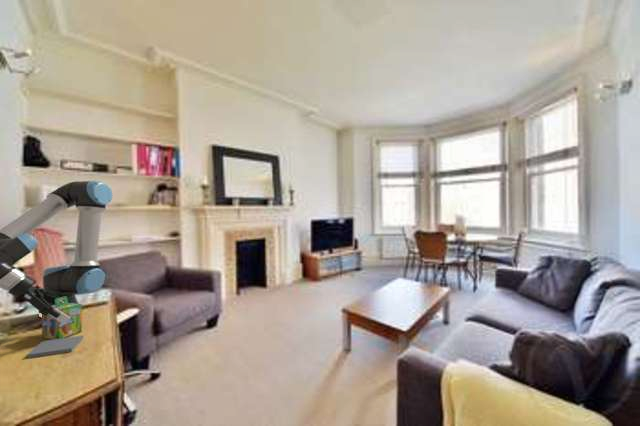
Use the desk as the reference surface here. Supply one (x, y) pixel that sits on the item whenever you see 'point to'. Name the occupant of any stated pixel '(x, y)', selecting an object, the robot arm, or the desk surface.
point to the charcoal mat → (55, 346)
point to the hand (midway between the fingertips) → (69, 316)
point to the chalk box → (58, 329)
